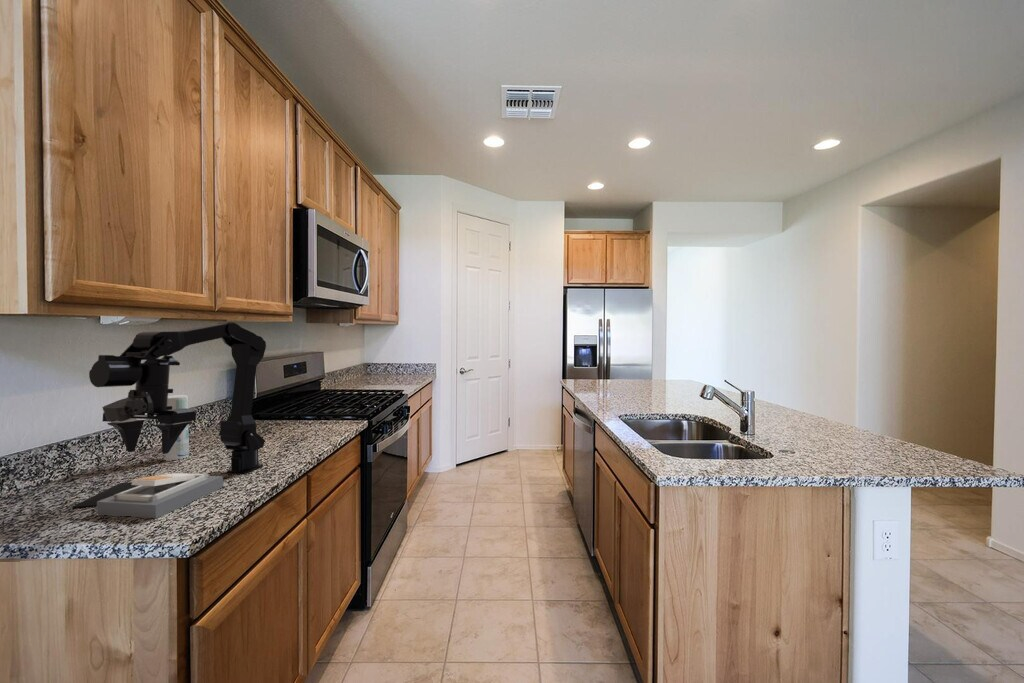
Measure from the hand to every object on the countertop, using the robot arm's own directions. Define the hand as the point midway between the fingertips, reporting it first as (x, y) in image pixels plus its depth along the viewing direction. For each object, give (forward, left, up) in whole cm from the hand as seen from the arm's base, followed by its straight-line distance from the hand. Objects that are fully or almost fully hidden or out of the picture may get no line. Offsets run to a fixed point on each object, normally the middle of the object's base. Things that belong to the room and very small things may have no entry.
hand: (148, 452), depth 91 cm
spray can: (-32, -29, -13) cm, 45 cm away
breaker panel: (-4, 0, -13) cm, 13 cm away
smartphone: (-5, -17, -13) cm, 22 cm away
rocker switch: (-4, 0, -8) cm, 9 cm away
